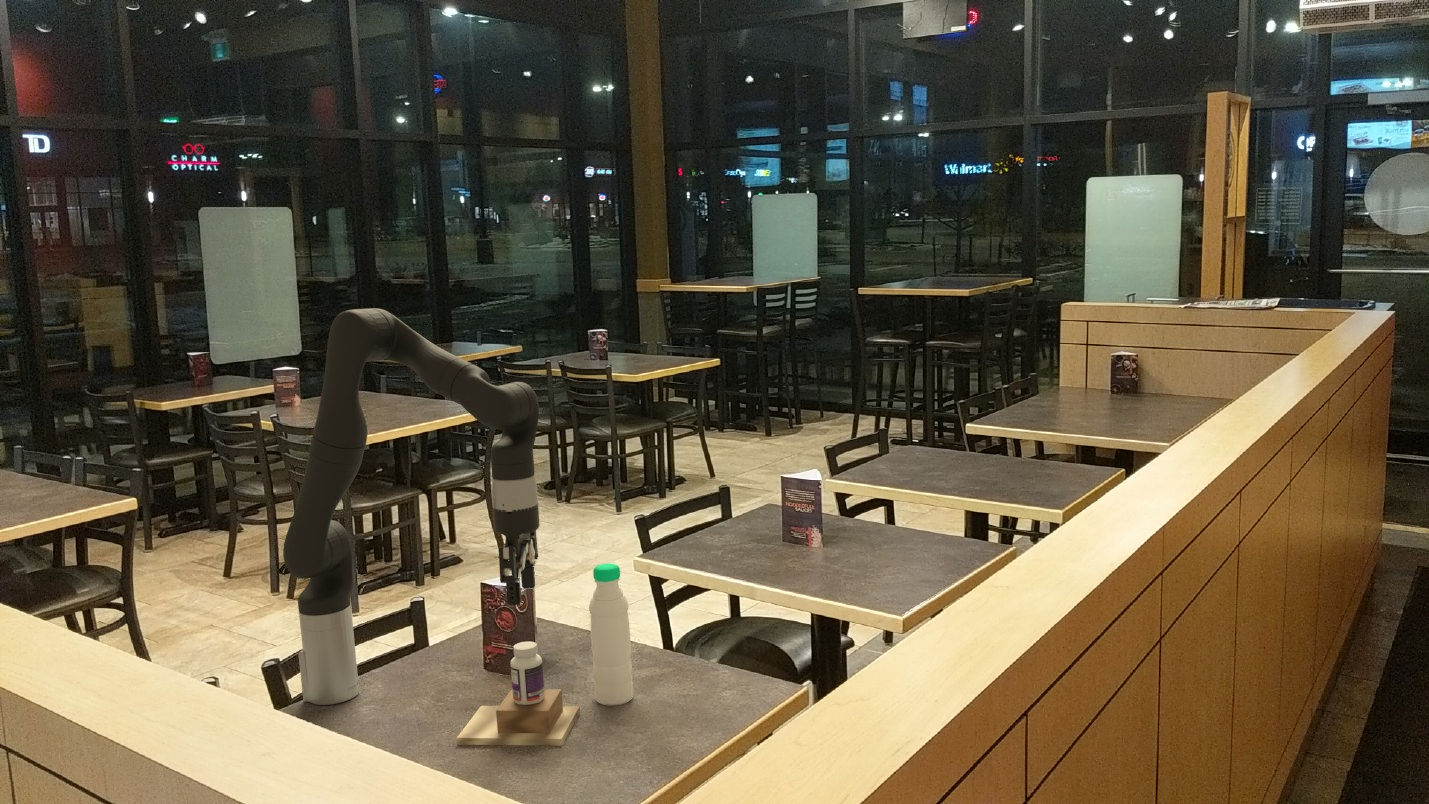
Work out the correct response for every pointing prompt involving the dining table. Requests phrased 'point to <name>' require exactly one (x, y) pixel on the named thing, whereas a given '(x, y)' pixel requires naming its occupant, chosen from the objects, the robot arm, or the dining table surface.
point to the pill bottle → (527, 674)
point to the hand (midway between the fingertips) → (521, 596)
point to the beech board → (486, 733)
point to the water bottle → (610, 638)
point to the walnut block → (530, 714)
